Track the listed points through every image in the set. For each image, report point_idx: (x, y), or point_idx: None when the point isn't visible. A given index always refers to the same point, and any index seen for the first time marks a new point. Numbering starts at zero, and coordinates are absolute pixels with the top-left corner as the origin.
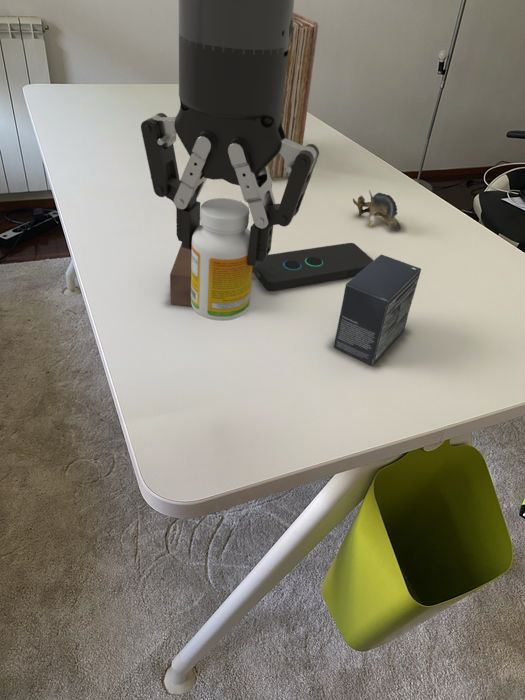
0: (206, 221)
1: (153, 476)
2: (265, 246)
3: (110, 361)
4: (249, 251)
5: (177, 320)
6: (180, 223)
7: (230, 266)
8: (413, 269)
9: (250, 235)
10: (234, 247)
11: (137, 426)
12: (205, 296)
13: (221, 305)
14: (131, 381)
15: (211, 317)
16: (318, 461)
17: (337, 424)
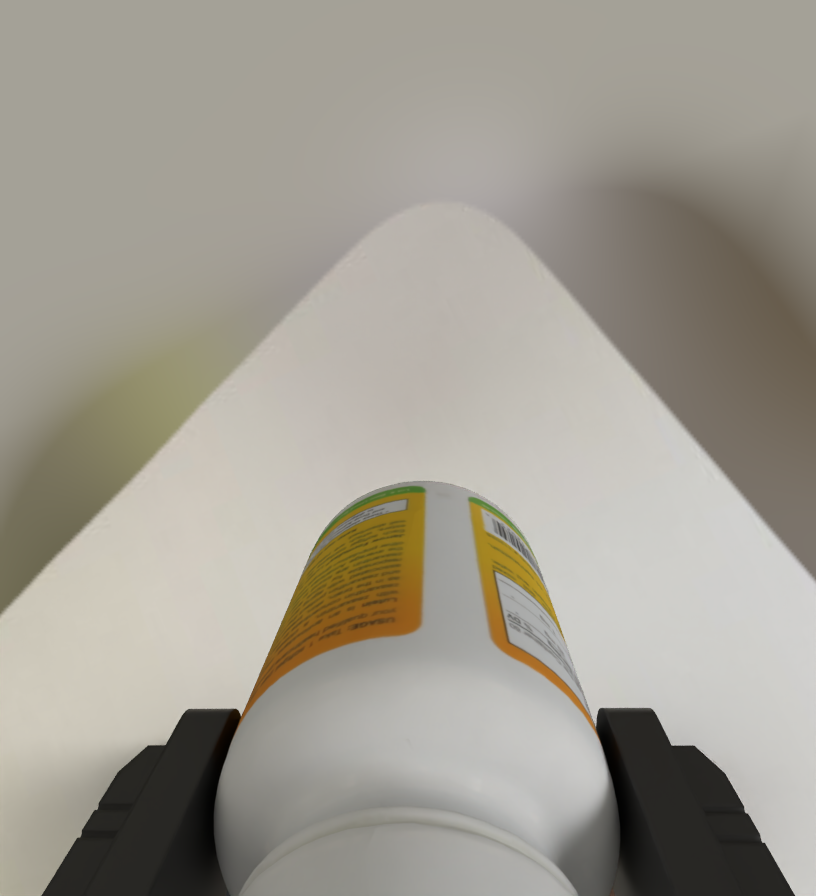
0: (497, 883)
1: (492, 236)
2: (87, 834)
3: (755, 517)
4: (198, 770)
5: (662, 711)
6: (736, 852)
7: (300, 641)
8: None
9: (152, 875)
10: (268, 748)
11: (594, 354)
12: (437, 518)
13: (363, 516)
14: (674, 477)
15: (407, 482)
16: (183, 428)
17: (184, 544)
